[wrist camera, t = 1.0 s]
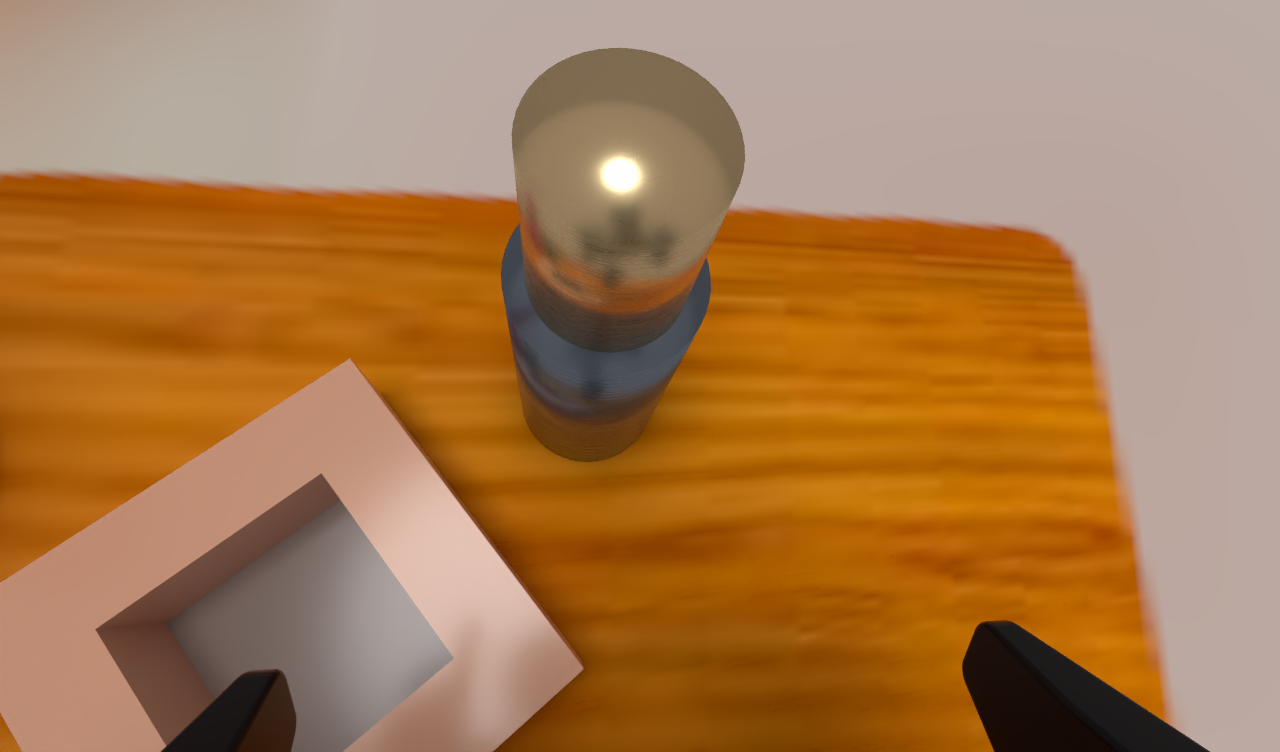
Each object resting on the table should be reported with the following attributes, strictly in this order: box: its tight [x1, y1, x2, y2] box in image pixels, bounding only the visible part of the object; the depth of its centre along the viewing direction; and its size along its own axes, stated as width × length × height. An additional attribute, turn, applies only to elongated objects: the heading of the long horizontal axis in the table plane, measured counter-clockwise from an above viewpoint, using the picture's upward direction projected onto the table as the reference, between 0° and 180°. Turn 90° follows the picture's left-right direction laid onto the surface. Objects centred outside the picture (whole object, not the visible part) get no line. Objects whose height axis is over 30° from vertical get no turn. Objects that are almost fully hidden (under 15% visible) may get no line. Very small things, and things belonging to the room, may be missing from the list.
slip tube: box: [501, 48, 745, 462], centre depth 17 cm, size 5×5×14 cm
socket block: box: [0, 359, 584, 752], centre depth 18 cm, size 11×11×4 cm
